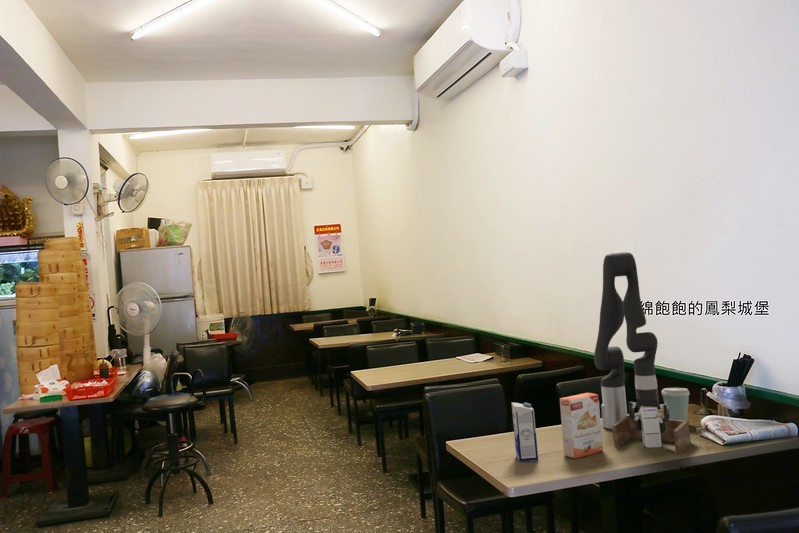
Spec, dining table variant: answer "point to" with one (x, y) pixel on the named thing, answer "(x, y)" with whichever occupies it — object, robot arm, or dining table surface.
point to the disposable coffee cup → (676, 402)
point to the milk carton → (524, 432)
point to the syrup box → (650, 427)
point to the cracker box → (581, 425)
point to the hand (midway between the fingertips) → (650, 431)
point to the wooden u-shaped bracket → (673, 433)
